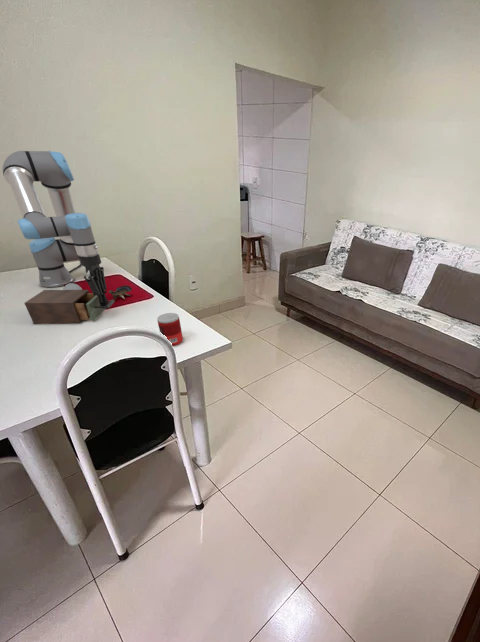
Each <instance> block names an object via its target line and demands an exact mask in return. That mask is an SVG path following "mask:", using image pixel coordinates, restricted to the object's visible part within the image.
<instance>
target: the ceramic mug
mask: <svg viewBox="0 0 480 642" xmlns="http://www.w3.org/2000/svg"><path fill="white" fill-rule="evenodd" d="M62 290H83V288H82V287H81V286H80V285H78V284H76V283H74V282H72V283H69V284H67V285H64V286H63V289H62Z"/></svg>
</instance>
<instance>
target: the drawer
mask: <svg viewBox="0 0 480 642" xmlns="http://www.w3.org/2000/svg"><path fill="white" fill-rule="evenodd" d="M107 302H108V304H107V305H106V306H100V303H99V300H98V296H97V295H93V293H90V294H85V295H84V296H83V297H82V298H81V299H80V300H78V301H77V302H76V303H75V304H74V305H75V307H76V310H77V313H78V315H79V318H80V319H85V320H90V321H91V322H95V321H96V320H97V319H98V318H99V317H100V316H101V315H102V314H103V313H104V312H105V311H106V310H109V309H110V308H111V307H112V306H113V305H114V304H115V302H116V300H115V301H114V298H113V299H110V300H107Z"/></svg>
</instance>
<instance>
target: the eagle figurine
mask: <svg viewBox="0 0 480 642" xmlns="http://www.w3.org/2000/svg"><path fill="white" fill-rule="evenodd" d="M132 289H133V287H131V286H129V285H120V286H118V287H116V289H115V291H114V290H112V289H111V290H109V291H108V293H109V294H110V295H111V298H113V300H114V301H115V302H116V300H117V298H118V297H119V298H120V299H123V300H126V299H125V296H129V297H130V296H131V294H129V293H130V292H132Z"/></svg>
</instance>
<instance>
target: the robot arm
mask: <svg viewBox="0 0 480 642" xmlns="http://www.w3.org/2000/svg"><path fill="white" fill-rule="evenodd" d="M2 174H3V177H4V179H5V181H6V183H8V184H9V185H10V188H11V190H12V193H13V195H14V198H15V201H16V204H17V206H18V209H19V212H20V214H21V217H22V218H20V219H18V220H17V224H18V226H19V228H20V229H19V230H20V231H21V233H22V236H23V237H24V239H26V240H31V241H30V242H29V244H28V247H29V250H30V253H31V254H32V257H33V259H34V262H35V265H36V266H37V269H38V282H39V285H40V286H41V287H43V288H59V287H65V285H67V284H69V283H74V277H73V275H72V274H71V273H72V272H73V271H75V270H77V269H78V268H80V267H81V266H82V267H84V268H85V273H86V275H83V279H84V280H85V281H86V283H87V285H88V287H89V289H90V291H91V294H93V295H97V296H98V300H99V303H100V306H106V305H107V304H108V303H109V302H107V301H108V299H107V296H106V293H108V288H107V282H106V278H105V269H104V266H100V265H101V264H102V258H101V255H100V254H99V249H98V248H99V247H98V246H97V243H96V240H95V237H94V233H93V230H92V226H91V225H92V224H91V222H90V219H89V216H88V215H87V214H86V213H84V212H76V209H75V206H74V202H73V199H72V195H71V192H70V188H71V187H72V182H73V181H74V180H75V177H74V175H73V173H72V170H71V168H70V165H69V163H68V162H67V159H66V157H65V156H64V154H63V153H62V152H60V151H51V150H18V151H14V152H12V153H11V154H9V155H8V156H7V157H6V159H4V161H3V165H2ZM34 182H40V184H41V186H42V187H44V188H46V190H47V193H48V196H49V199H50V202H51V205H52V208H53V211H54V214H55V216H47V215H46V213H45V210H44V208H43V206H42V203H41V201H40V197H39V195H38V193H37V190H36V188H35V186H34ZM57 238H58V239H57ZM74 261H78V262H79V265H78V266H76V267H74V268H72V269H70V270H69V271H68V269H67V268H66V265H65V264H64V263H67V262H74Z"/></svg>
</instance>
